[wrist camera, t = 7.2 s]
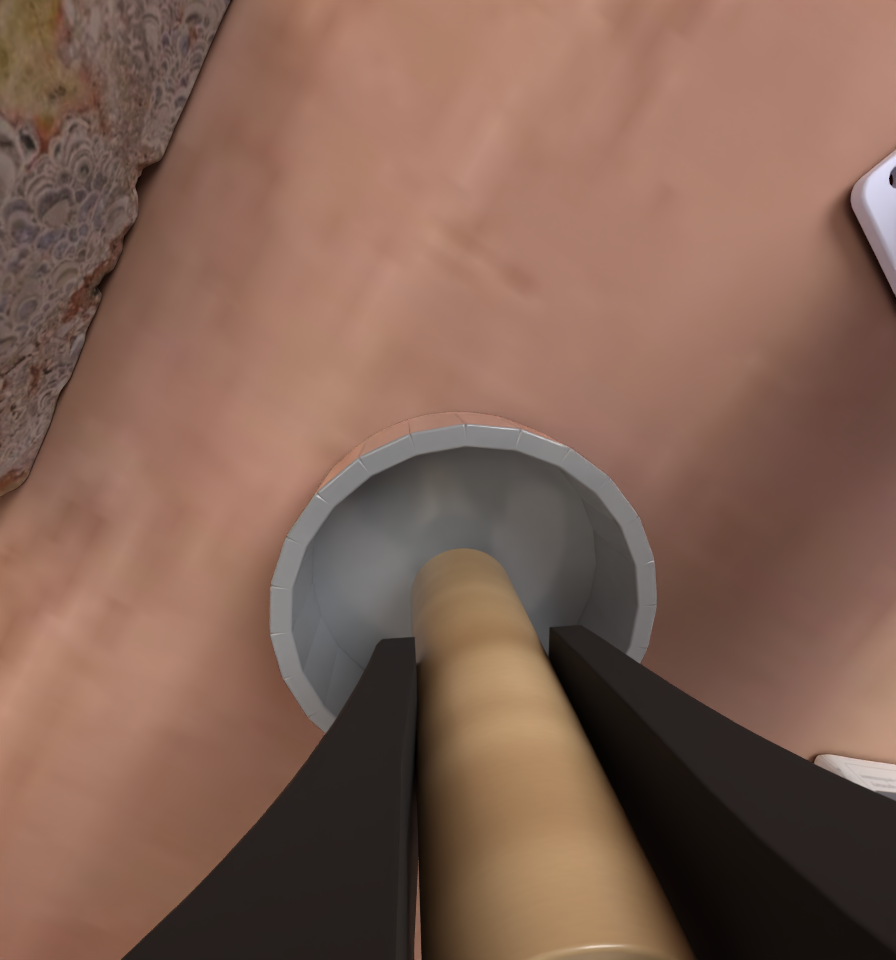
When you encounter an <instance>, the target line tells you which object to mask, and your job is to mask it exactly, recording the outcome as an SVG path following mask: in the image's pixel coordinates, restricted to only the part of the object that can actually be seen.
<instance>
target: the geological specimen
mask: <svg viewBox="0 0 896 960" xmlns="http://www.w3.org/2000/svg"><path fill="white" fill-rule="evenodd" d="M229 2H230V0H0V496H2V495H4V494H6V493H8V492H10V491H12V490H13V489H15V488H17V487H19V486H20V485H21V484H22V483H23V482H24V481H25V480H26V478H27V477H28V475H29V473H30V470H31V468H32V465H33V463H34V460H35V458H36V456H37V453H38V451H39V449H40V446H41V444H42V442H43V439H44V437H45V435H46V432H47V430H48V428H49V425H50V423H51V419H52V416H53V413H54V410H55V406H56V403H57V400H58V397H59V393H60V391H61V389H62V388H63V387H64V386H65V384H66V383H67V382H68V380H69V379H70V377H71V374H72V372H73V369H74V367H75V365H76V362H77V360H78V357H79V355H80V352H81V350H82V347H83V345H84V341H85V334H86V330H87V328H88V326H89V324H90V322H91V320H92V318H93V316H94V314H95V312H96V310H97V308H98V306H99V303H100V300H101V296H102V294H101V292H100V291H99V289H98V287H97V285H98V284H100V282H101V280H102V278H103V276H105V275H106V274H107V273H109V272H110V271H112V270H113V269H114V267H115V265H116V263H117V261H118V259H119V257H120V255H121V253H122V248H123V238H124V235H125V234H126V233H127V232H128V230H129V229H130V228H131V227H132V225H133V224H134V222H135V220H136V218H137V215H138V195H137V192H136V188H135V184H136V182H137V178H138V177H139V176H141V173H142V169H143V168H145V167H147V166H149V165H151V164H153V163H156V162H158V161H160V160H161V159H162V157H163V155H164V153H165V150H166V148H167V145H168V143H169V140H170V138H171V136H172V133H173V131H174V128H175V126H176V123H177V121H178V118H179V116H180V114H181V112H182V110H183V108H184V106H185V104H186V101H187V99H188V97H189V95H190V92H191V90H192V88H193V85H194V83H195V81H196V78H197V76H198V74H199V71H200V69H201V66H202V64H203V62H204V59H205V57H206V54H207V52H208V50H209V47H210V45H211V43H212V40H213V38H214V36H215V33H216V31H217V29H218V26H219V24H220V22H221V20H222V17H223V15H224V13H225V11H226V9H227V7H228V4H229Z"/></svg>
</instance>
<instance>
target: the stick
mask: <svg viewBox="0 0 896 960" xmlns="http://www.w3.org/2000/svg"><path fill="white" fill-rule="evenodd" d="M411 630H412V637H415V652H416V674H417V698H418V708H417V729H416V792H417V825H418V857H419V889H420V922H421V954H422V960H698V959H697V957H696V955H695V953H694V951H693V949H692V947H691V945H690V943H689V941H688V939H687V937H686V935H685V933H684V931H683V928H682V926H681V924H680V922H679V920H678V918H677V916H676V914H675V912H674V910H673V908H672V906H671V904H670V902H669V900H668V898H667V896H666V894H665V892H664V890H663V888H662V886H661V884H660V882H659V880H658V878H657V876H656V874H655V872H654V870H653V868H652V866H651V864H650V862H649V860H648V858H647V856H646V854H645V852H644V850H643V848H642V846H641V844H640V842H639V839H638V837H637V835H636V833H635V831H634V829H633V827H632V825H631V823H630V821H629V819H628V817H627V815H626V813H625V811H624V809H623V807H622V805H621V803H620V801H619V799H618V797H617V795H616V793H615V791H614V789H613V787H612V785H611V783H610V781H609V779H608V777H607V775H606V773H605V771H604V769H603V767H602V765H601V763H600V761H599V759H598V757H597V755H596V753H595V750H594V748H593V746H592V744H591V742H590V740H589V738H588V736H587V734H586V732H585V730H584V728H583V726H582V724H581V722H580V720H579V718H578V716H577V714H576V712H575V710H574V708H573V706H572V704H571V702H570V700H569V698H568V696H567V694H566V692H565V690H564V688H563V686H562V684H561V682H560V680H559V678H558V676H557V674H556V672H555V670H554V668H553V666H552V663H551V661H550V659H549V657H548V655H547V653H546V651H545V649H544V647H543V645H542V643H541V641H540V639H539V637H538V635H537V633H536V631H535V629H534V627H533V625H532V623H531V621H530V619H529V617H528V615H527V613H526V611H525V609H524V607H523V605H522V603H521V601H520V599H519V597H518V595H517V593H516V591H515V589H514V587H513V585H512V583H511V581H510V579H509V577H508V575H507V573H506V571H505V569H504V568H503V566H502V565H501V564H500V563H499V562H498V561H497V560H496V559H494V558H493V557H492V556H490V555H488V554H487V553H484V552H482V551H479V550H475V549H468V548H460V549H453V550H448V551H445V552H443V553H440V554H438V555H437V556H435V557H433V558H432V559H430V560H429V561H428V562H427V563H426V564H425V565H424V566H423V567H422V568H421V569H420V570H419V572H418V574H417V575H416V577H415V579H414V581H413V585H412V588H411Z"/></svg>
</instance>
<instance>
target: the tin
mask: <svg viewBox="0 0 896 960" xmlns="http://www.w3.org/2000/svg"><path fill="white" fill-rule="evenodd" d="M460 548H468V549H475V550H479V551H482V552H484V553H487V554H488V555H490V556H492V557H493V558H494V559H496V560H497V561H498V562H499V563H500V564H501V565H502V566H503V568H504V569H505V571H506V573H507V575H508V577H509V579H510V581H511V583H512V585H513V587H514V589H515V591H516V593H517V595H518V597H519V599H520V601H521V603H522V605H523V607H524V609H525V611H526V613H527V615H528V617H529V619H530V621H531V623H532V625H533V627H534V629H535V631H536V633H537V635H538V637H539V639H540V641H541V643H542V645H543V647H544V649H545V651H546V653H547V655H548V657H549V627H558V626H572V625H582V626H584V627H585V628H587V629H589V630H590V631H592V632H593V633H595V634H597V635H598V636H600V637H601V638H603V639H604V640H606V641H607V642H609V643H610V644H612V645H613V646H615V647H616V648H617V649H619V650H620V651H622V652H623V653H625V654H626V655H628V656H629V657H631V658H632V659H634V660H635V661H637V662H638V663H641V661H642V659H643V657H644V655H645V653H646V651H647V648H648V645H649V641H650V636H651V631H652V627H653V622H654V618H655V613H656V608H657V606H656V604H657V592H656V575H655V561H654V556H653V553H652V550H651V548H650V545H649V542H648V539H647V537H646V534H645V531H644V528H643V525H642V523H641V520H640V517H639V516H638V514H637V512H636V511H635V510H634V508H633V507H632V506H631V504H630V503H629V502H628V500H627V499H626V498H625V496H624V495H623V494H622V492H621V491H620V490H619V488H618V487H617V485H616V484H615V483H614V481H613V480H612V479H611V478H609V476H608V475H607V474H606V473H604V472H603V471H602V470H600V469H599V468H598V467H596V466H595V465H593V464H592V463H591V462H589V461H588V460H587V459H585V458H584V457H583V456H581V455H580V454H579V453H577V452H576V451H575V450H573V449H572V448H570V447H568V446H567V445H565V444H563V443H561V442H559V441H557V440H555V439H553V438H551V437H549V436H547V435H545V434H543V433H541V432H539V431H537V430H534V429H532V428H529V427H526V426H524V425H521V424H519V423H517V422H514V421H511V420H508V419H505V418H503V417H498V416H496V415H488V414H482V413H476V412H443V413H433V414H427V415H423V416H419V417H415V418H411V419H407V420H405V421H402V422H400V423H397V424H395V425H392V426H389V427H387V428H385V429H384V430H382V431H380V432H378V433H376V434H374V435H373V436H371V437H369V438H368V439H366V440H365V441H363V442H362V443H361V444H359V445H358V446H357V447H355V448H354V449H353V450H351V451H350V452H349V453H348V454H347V455H346V456H345V457H344V458H343V459H342V460H341V461H340V462H339V463H337V464H336V465H335V466H334V467H333V469H331V471H330V472H329V474H328V475H327V476H326V478H325V479H324V481H323V482H322V484H321V485H320V487H319V488H318V490H317V491H316V493H315V494H314V496H313V497H312V499H311V500H310V501H309V503H308V504H307V506H306V507H305V509H304V510H303V512H302V513H301V515H300V516H299V518H298V519H297V521H296V522H295V523H294V525H293V526H292V528H291V529H290V531H289V532H288V534H287V536H286V538H285V540H284V543H283V546H282V549H281V552H280V556H279V559H278V562H277V565H276V568H275V571H274V574H273V577H272V580H271V587H270V625H269V631H270V638H271V641H272V645H273V648H274V652H275V655H276V658H277V662H278V665H279V669H280V672H281V676H282V678H283V679H284V682H285V683H286V685H287V687H288V688H289V690H290V691H291V693H292V694H293V696H294V697H295V699H296V701H297V702H298V704H299V705H300V707H301V708H302V710H303V711H304V713H305V715H306V716H308V718H309V719H310V720H311V721H312V722H313V723H314V724H315V725H316V726H317V727H319V728H320V729H321V730H322V731H323V732H324V733H325V734H326V732H327V731H328V730H329V728H330V727H331V725H332V724H333V722H334V721H335V719H336V718H337V716H338V715H339V713H340V711H341V710H342V708H343V707H344V705H345V703H346V702H347V700H348V698H349V697H350V695H351V693H352V692H353V690H354V688H355V687H356V685H357V683H358V681H359V680H360V678H361V676H362V674H363V672H364V670H365V668H366V666H367V665H368V662H369V660H370V658H371V656H372V654H373V652H374V649H375V647H376V645H377V644H378V643H379V642H380V641H381V640H382V639H390V638H404V637H412V630H411V588H412V585H413V581H414V579H415V577H416V575H417V574H418V572H419V570H420V569H421V568H422V567H423V566H424V565H425V564H426V563H427V562H428V561H429V560H430V559H432V558H433V557H435V556H437V555H438V554H440V553H443V552H445V551H448V550H453V549H460Z"/></svg>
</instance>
